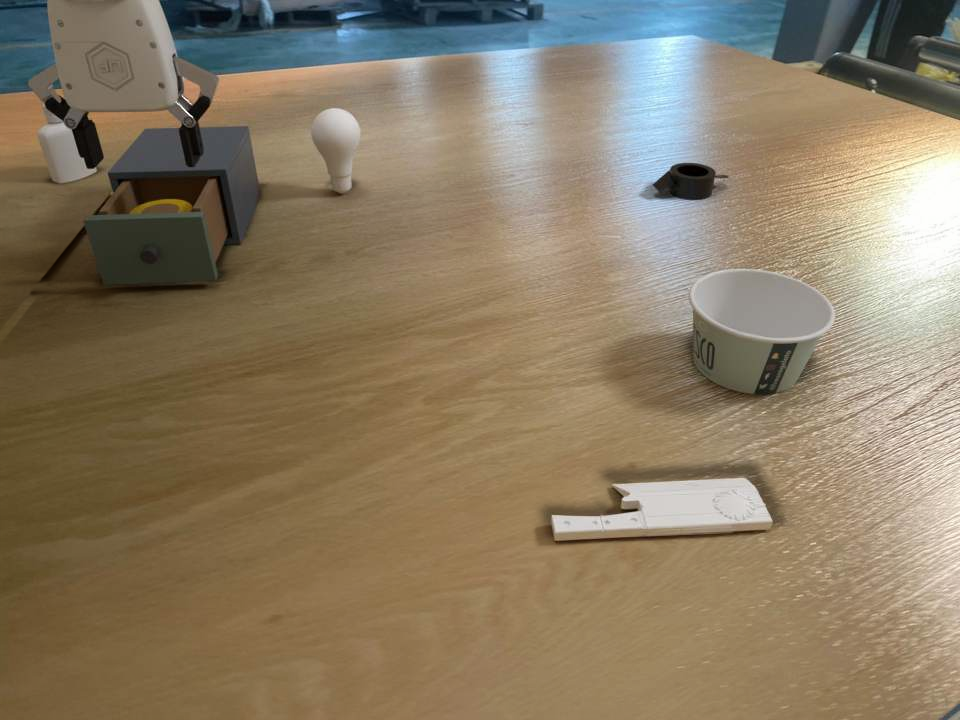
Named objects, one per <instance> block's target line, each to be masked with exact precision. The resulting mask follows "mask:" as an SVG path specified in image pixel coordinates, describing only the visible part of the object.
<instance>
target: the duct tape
mask: <svg viewBox="0 0 960 720" xmlns="http://www.w3.org/2000/svg"><path fill="white" fill-rule="evenodd" d="M716 178H717V179H728V178H730V176H729V175H726V174H717V173H716V169H714V168H712V167H711V166H709V165H707V164H703V163H697V162H680V163H676V164H673V165H672V166H671V167H670V169H669V170H668V171H666V172H665V173H664V174H663V175H662V176H661V177H659V178H658V179H657V180H656V181H655V182H654V183H652V187H653V188H654V189H655V190H656V191H658V193H662V192H663V193H664V192H666V191H667V193H668V194H669V195H670V196H673V197H675V198H677V199H681V200H687V201H702V200H706V199H709V198H710V197H712V196H713V195H712V194H713V190H714V185H715V179H716Z"/></svg>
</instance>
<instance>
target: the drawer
mask: <svg viewBox="0 0 960 720" xmlns="http://www.w3.org/2000/svg"><path fill="white" fill-rule="evenodd" d="M163 199H177V200H183V201H186V202H188V203H190V204H191V205H192V207H193V212H179V213H148V214H129V213H130V211H131V210H133V209H134V208H135V207H137V206H139V205H142V204H144V203H147V202H151V201H156V200H163ZM98 212H99V214H87V215H85V217H84V218H83V219H82V222H83V225H84V229H85V231H86V235H87V237H88V238H87V239H88V241H89V243H90V247H91V250H92V253H93V256H94V260H95V262H96V265H97V268H98V272H99V275H100V277H101V281H102V284H103V285H104V286H114V285H115V286H116V285H117V286H118V285H120V286H121V285H142V284H167V283H168V284H169V283H172V284H173V283H196V282H200V283H201V282H216V281H217V280H218V278H219V273H218V269H217V263H216V262H217V261H218V259H219V256H220V253H221V251H222V249H223V246H224V245H223V244H224V242H225V240H226V237H227V235H228V233H229V231H230V223H229V218H228V213H227V208H226V203H225V198H224V194H223V189H222V184H221V179H220V176H207V177H172V178H137V179H124V181H123V182H122V183H121V184H120V186H119V187H118V188H117V189H116V191H115V192H114V193H113V192H112V194H111V196H110V197H109V198H108V200H107V201H106V202H105V204H104V205H103V206H102V207H101V208H100V209H99V211H98Z"/></svg>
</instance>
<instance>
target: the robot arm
mask: <svg viewBox="0 0 960 720" xmlns="http://www.w3.org/2000/svg"><path fill="white" fill-rule="evenodd" d="M46 5H47V6H46V7H47V16H48V25H49V32H50V39H51V40H50V41H51V45H52V51H53V55H54V62H55V63H54V64H52V65H50V66H49V67H47V68H45V69H44V70H43V71H41V72H40V73H38V74H36V75H35V76H33V77H31V78H30V79H29V80H27V85H28V87H29V89H31V90H32V92H33V93H34V94H35V95H36V96H37V97H38V99H39V100H40V101H41V102H43V104H45V107H46V109H47V110H49V111H50V112H51V113H53V114H54V115H55V116H57V117H58V118H59V119H61V120H62V121H63V122H64V125H65V126H66V127H67V128H69V129H72V133H73V136H74V139H75V143H76V146H77V150H78V153H79V156H80V157H81V158H84V161H85V164H86V167H87V169H94V168H95V167H96V168H97V167H98V166H99V164H100V163H102V161H103V160H104V159H105V155H104V152H103V148H102V144H101V141H100V136H99V134H98V130H97V126H96V123H95V122H94V120H93V119H90V118H89V114H90V113H149V112H150V113H152V112H154V113H155V112H163V111H168V112H169V113H170V114H172V116H173V117H175V119H177V120H178V121H179V122H180V124H181V126H180V127H178V128H179V134H180V139H181V144H182V148H183V153H184V158H185V162H186V166H188V167H195V165H196V164H197V162H198V161H199V159H200V156H202V155H203V153H204V148H203V142H202V137H201V132H200V123H199V121H200V119H201V118H202V117H203V116H204V114H205V113H206V112H207V111H208V109H209V108H210V107H211V105H212V104H213V101H214V97H215V96H216V93H217V89H218V86H219V83H220V78H219V76H218V75H216V74H214V73H212V72H210V71H208V70H206V69H204V68H202V67H200V66H198V65H195V64H193V63H191V62H189V61H187V60H185V59H183V58H181V57H179V56H178V53H177V49H176V45H175V42H174V38H173V36H172V33H171V29H170V26H169V24H168V20H167V18H166V15H165V12H164V9H163V7H162V5H161V1H160V0H46ZM184 79H185V80H187V81H189V82H190V83H191V82H192V83H193V84H196V85H197V86H199V94H198V96H197V99H196V101H195V102H192V101H191V100H190V99H189V98H188V97H187V96H186V95H185V94H184V92H185V83H184V82H185V81H184ZM57 81H59V84H60V86H61V90H62V95H63V96H61V95H60V94H58V93H57V91H56V89H54V86H53V84H54V83H56V82H57Z"/></svg>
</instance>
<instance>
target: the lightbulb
mask: <svg viewBox="0 0 960 720" xmlns="http://www.w3.org/2000/svg"><path fill="white" fill-rule="evenodd" d="M310 131H311V132H310V135H311V139H312V142H313V145H314V147H315V148H316V150H317V151H318V153H319V154H320V155H321V156H322V159H323V160H324V162H325V165H326V170H327V174H328V176H329V177H330V183H331V188H332V190H333V191H334V192H337V193H338V194H341V195H343V194H346V193H347V192H348V191H350V190H351V188H352V173H353V161H354V157H355V153H356V151H357V149H358V147H359V144H360V142H361V136H362V135H361V128H360V125H359V123H358V121H357V119H356V117H355V116H353V115H352V113H350V112H349V111H347V110H345V109H343V108H338V107H337V108H336V107H331V108H327V109H325V110H323V111H321V112H320V113H318V115H316V117H315V118H314V119H313V122H312V125H311V129H310Z"/></svg>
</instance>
